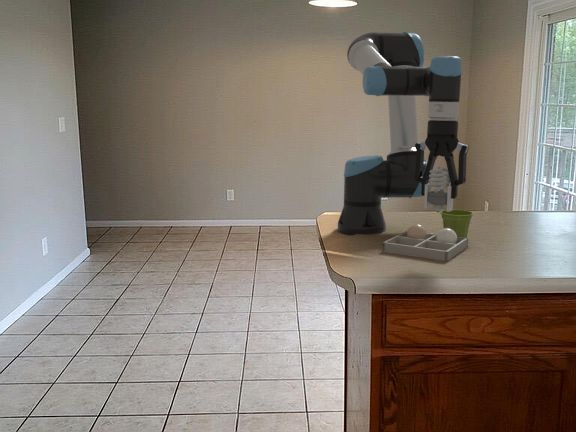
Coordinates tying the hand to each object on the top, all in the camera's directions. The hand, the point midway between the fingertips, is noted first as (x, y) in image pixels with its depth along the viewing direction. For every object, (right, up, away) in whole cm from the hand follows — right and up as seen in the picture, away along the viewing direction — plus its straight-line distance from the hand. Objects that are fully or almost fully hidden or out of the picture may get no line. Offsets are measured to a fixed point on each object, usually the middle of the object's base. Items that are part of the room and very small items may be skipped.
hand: (438, 209), depth 156 cm
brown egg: (-3, -10, +14) cm, 17 cm away
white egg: (+5, -11, +10) cm, 15 cm away
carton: (-1, -11, +8) cm, 14 cm away
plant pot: (+10, -9, +20) cm, 25 cm away
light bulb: (0, -1, 0) cm, 1 cm away
